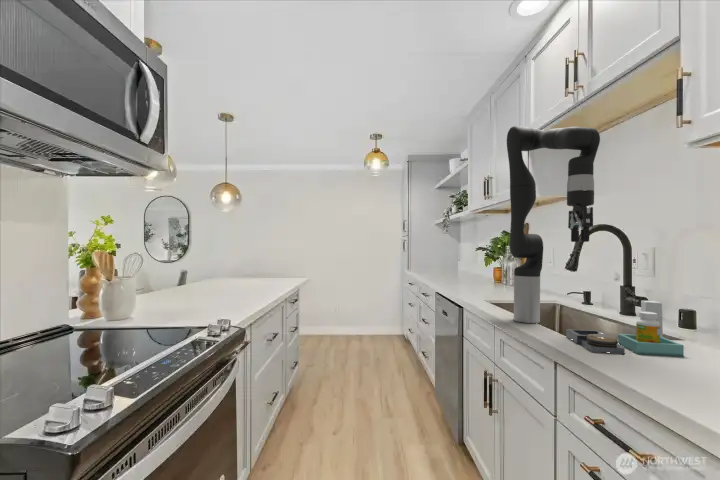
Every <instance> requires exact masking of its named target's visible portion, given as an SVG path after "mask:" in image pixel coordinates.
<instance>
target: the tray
mask: <svg viewBox="0 0 720 480" xmlns="http://www.w3.org/2000/svg"><path fill="white" fill-rule="evenodd" d="M617 340H618V343H619V344H620V345H619V344H618V345H619V346H621V345H622V346H621V347H623V346H624V347H623V348H625V349H626V350H628V349H629V351H630V350H631V351H630V352H632V351H633V352H632V353H634V354H636V355H648V356H649V355H650V356H666V357H667V356H668V357H681V358H683V357H684V356H685V355H684V353H685V352H684V351H685V350H684V345H683V344H681V343H678V342H676V341H674V340H671V339H668V338H665V337H664V336H663V337H661V336H660V343H648V342H638V341H636V334H629V333H628V334H627V333H626V334H625V333H618V334H617Z"/></svg>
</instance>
